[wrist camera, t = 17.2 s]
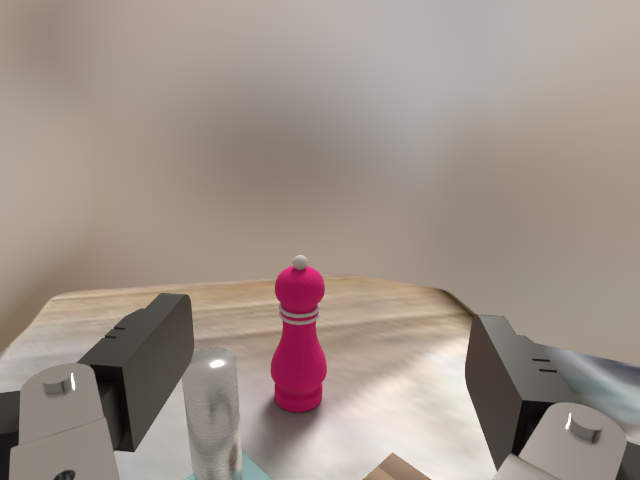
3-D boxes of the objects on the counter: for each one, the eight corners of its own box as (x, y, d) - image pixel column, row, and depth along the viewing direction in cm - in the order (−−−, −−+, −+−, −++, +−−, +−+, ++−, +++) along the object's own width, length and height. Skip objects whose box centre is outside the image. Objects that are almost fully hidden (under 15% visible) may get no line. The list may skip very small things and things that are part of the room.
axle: (230, 505, 41) (216, 341, 35) (256, 534, 39) (246, 362, 33) (192, 534, 39) (170, 362, 32) (217, 568, 36) (199, 387, 30)
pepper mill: (290, 373, 62) (291, 241, 56) (335, 390, 59) (341, 252, 53) (259, 402, 56) (256, 259, 50) (307, 423, 53) (311, 272, 47)
